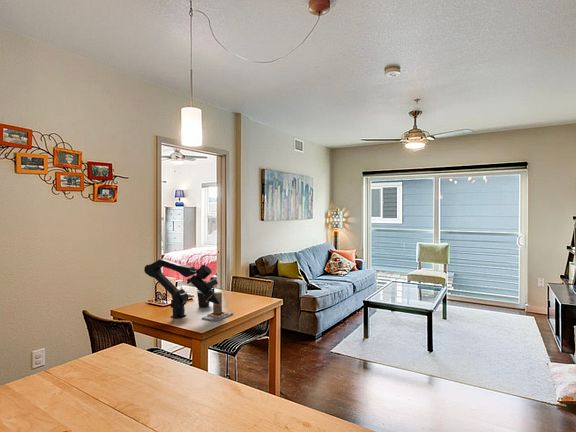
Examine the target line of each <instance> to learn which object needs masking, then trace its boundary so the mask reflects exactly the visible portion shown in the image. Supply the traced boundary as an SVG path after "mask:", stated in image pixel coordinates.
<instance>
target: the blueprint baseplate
mask: <svg viewBox="0 0 576 432" xmlns="http://www.w3.org/2000/svg"><path fill="white" fill-rule="evenodd" d="M233 315H234V312H230V311H224V310H222V315H219V316H217V315H213V311H212V312H209V313H207V315H205V316H202V317H201V320H204V321H209V322H215V323H218V322H220V321H221V320H224V319H227V318H228V317H231V316H233Z"/></svg>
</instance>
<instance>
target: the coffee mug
mask: <svg viewBox="0 0 576 432" xmlns="http://www.w3.org/2000/svg"><path fill="white" fill-rule="evenodd" d="M196 293H197V294H196V296H197V301H198V302H197V303H198V308H200V309H206V308H209V307H210V302H209V301H205V300H204V299H203V293H201V292H200V291H198V290H197V291H196Z"/></svg>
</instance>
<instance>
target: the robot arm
mask: <svg viewBox="0 0 576 432" xmlns="http://www.w3.org/2000/svg"><path fill="white" fill-rule="evenodd" d="M162 268H166V269H169V270H172V271H175V272H177V273H179V274H180V275H181V276H182V277H184V278H187V279H186V284H187V285H189V284H192V286H193V287H195V288H196V290H197V291H200V292H201V293H203V299H204V300H205V301H209V303H212V304H213V303H215V304H219V301H218V300H217V299H216V297H215V296H214V293H215V292H216V291H215V286H217V285H218V284H219V282H218V280H217V277H213V276H211V277H210V278H209V281H206V280H205V279H207V277H209V276H210V275H211V274H212V273H213V272H212V269H211V268H210V267H209V266H207V265H206V264H202V265H201V266H200V267H199V268H196V267H195V266H194V265H189V264H188V265H186V264H180V263H178V262H174V261H172V260H169V259H166V258H160V259H158V260H157V261H154V262H152V263H150V264H146V265H145V266H144V269H143V270H144V271H143V272H144V273H145V274H146V275H148V277H151V278H153V279H155V280H156V281H157V282H158V283H159V284H160V285H161V286H162V287H163V288H164V289H165V290H166V291H167V293H169V294H170V296H171V300H172V301H171V303H170V305H169V306H170V308H172V315H171V316H170V318H173V319H180V318H183V317H186V316H187V314H185V306H186V304H187V302H188V301H189V295H188V292H187V291H185V290H184V289H183V288H181V289H179V288H177V287H176V286H175V285H174V284H173V283H172V282H171V281H170V280H169V279H168V278H167V277H166V275H164V274H163V272H162Z"/></svg>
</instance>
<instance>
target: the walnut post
mask: <svg viewBox="0 0 576 432" xmlns="http://www.w3.org/2000/svg"><path fill="white" fill-rule="evenodd" d="M214 292H215V293H214V296H215V297H216V299H217V300H218V301H219V304H215V303H212V304H213V305H212V307H213V308H212V309H213V311H212V312H213V315H217V316H219V315H222V311H223V293H222V292H221V291H214Z"/></svg>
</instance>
